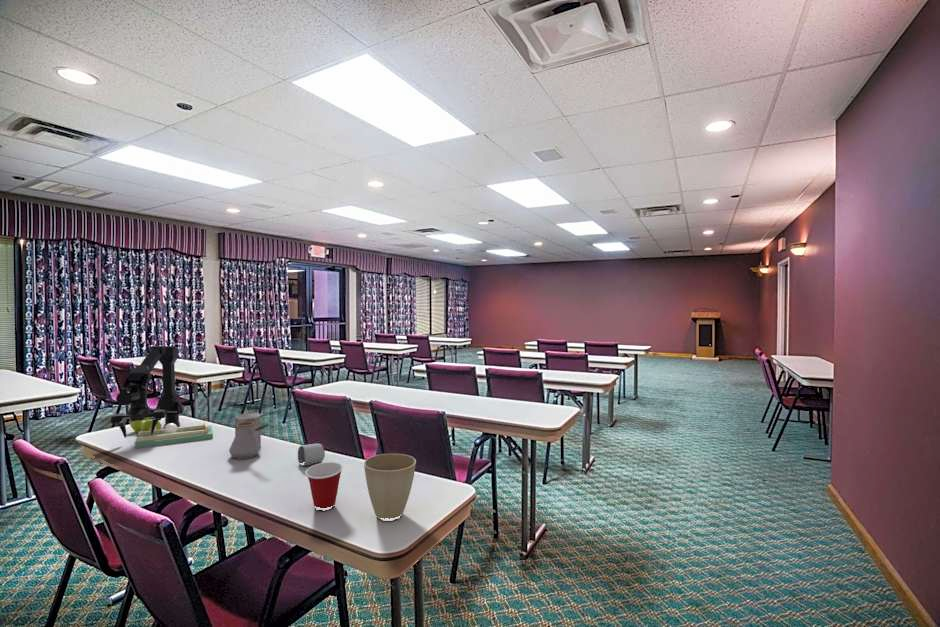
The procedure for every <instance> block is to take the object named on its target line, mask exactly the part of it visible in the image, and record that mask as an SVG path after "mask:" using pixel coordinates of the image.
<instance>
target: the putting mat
mask: <svg viewBox="0 0 940 627" xmlns="http://www.w3.org/2000/svg"><path fill="white" fill-rule="evenodd" d="M213 432H214V431H213V428H212V425H209V423H208V421H207V420H204V424H197V425H188V426H181V427H180V426H177V431H176V432H175V433H172V434H166V433H165V432H164V428H161V429H160V430H154V431H153V434H152V435H151V431H138V432H137V437H136V439H135V441H136V442H135V449H142V448H148V447H156V446H162V445H171V444H179V443H180V444H181V443H186V442H195V441H202V440H203V441H204V440H209V439H210V440H211V439H213V438H214V436H213V435H214V433H213Z"/></svg>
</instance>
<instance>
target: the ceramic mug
mask: <svg viewBox="0 0 940 627" xmlns="http://www.w3.org/2000/svg"><path fill="white" fill-rule="evenodd" d="M325 453H326V452H325V448H324V446H323V444H322V443H312V444H311V443H309V444H301V445H299V447H298V450H297V461H298V463H303V462H305V463H304V465H303V466H302V467H305V465H307V466H310V465H309V464H311V465H314V464H313V463H315V464H318V463H317V462H319V463H322V462H323V461H324V459H325V455H326V454H325ZM321 461H322V462H321Z"/></svg>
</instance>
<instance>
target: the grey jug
mask: <svg viewBox="0 0 940 627" xmlns="http://www.w3.org/2000/svg"><path fill="white" fill-rule="evenodd" d="M234 419H235V422H234V428H235V433H234V435H235V436H236V434H237V431H238V428H237V426H236V425H237V424H238V423H242V422H253V423H254V425H253V427H252V429H253V430H255V429H257V428H258V427H260V426H262V424H261V413H259V412H245V413H240V414H239V413H238V414H237V415H235V417H234ZM261 430H262V429H261ZM261 430H258V431H255V432H254V433H255V435H256V437H257V439H258V441H259V443H260V445H261V446H262V443H261V442H262V440H261V438H262V434H261ZM235 436H234V437H235Z"/></svg>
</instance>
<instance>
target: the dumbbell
mask: <svg viewBox="0 0 940 627" xmlns="http://www.w3.org/2000/svg"><path fill="white" fill-rule="evenodd" d="M152 423H153V418H151V419H150V417H147V418H144V420H141V421H140V420H137V421H130V423H129V425H130V427H131V429H132V430H133V431H134V432H137V433H138V432H142V431H151V430H152ZM160 429H162V423H161V422H160V420H159V421H158V422H157V424H156V426H155V428H154V430H160Z"/></svg>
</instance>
